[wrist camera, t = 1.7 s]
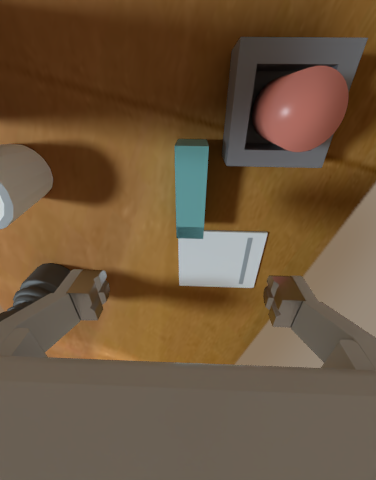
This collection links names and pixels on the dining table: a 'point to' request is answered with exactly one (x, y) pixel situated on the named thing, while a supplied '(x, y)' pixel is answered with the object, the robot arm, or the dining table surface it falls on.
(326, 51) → the button box
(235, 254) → the sketch sheet
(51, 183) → the shot glass
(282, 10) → the dining table surface
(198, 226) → the teal rectangular block
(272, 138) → the button
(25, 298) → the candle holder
